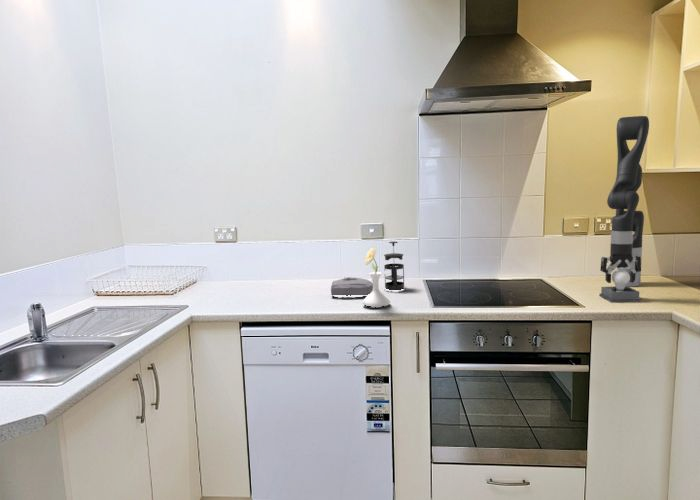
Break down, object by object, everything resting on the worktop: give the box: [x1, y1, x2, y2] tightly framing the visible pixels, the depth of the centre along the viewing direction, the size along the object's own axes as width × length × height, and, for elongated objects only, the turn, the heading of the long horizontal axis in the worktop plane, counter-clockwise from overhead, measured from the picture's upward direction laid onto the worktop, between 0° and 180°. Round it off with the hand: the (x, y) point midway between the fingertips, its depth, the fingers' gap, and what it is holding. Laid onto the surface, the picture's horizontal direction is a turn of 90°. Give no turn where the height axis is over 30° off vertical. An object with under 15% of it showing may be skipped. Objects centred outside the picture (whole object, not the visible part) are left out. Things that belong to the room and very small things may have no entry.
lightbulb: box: [611, 269, 630, 292], centre depth 187 cm, size 6×6×11 cm
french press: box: [383, 241, 405, 290], centre depth 220 cm, size 12×9×23 cm
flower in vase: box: [362, 246, 391, 308], centre depth 191 cm, size 13×11×25 cm
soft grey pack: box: [330, 276, 373, 296], centre depth 214 cm, size 15×8×20 cm
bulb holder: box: [598, 286, 642, 304], centre depth 188 cm, size 11×11×4 cm
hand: (620, 282), depth 187 cm, fingers open, 8 cm apart
